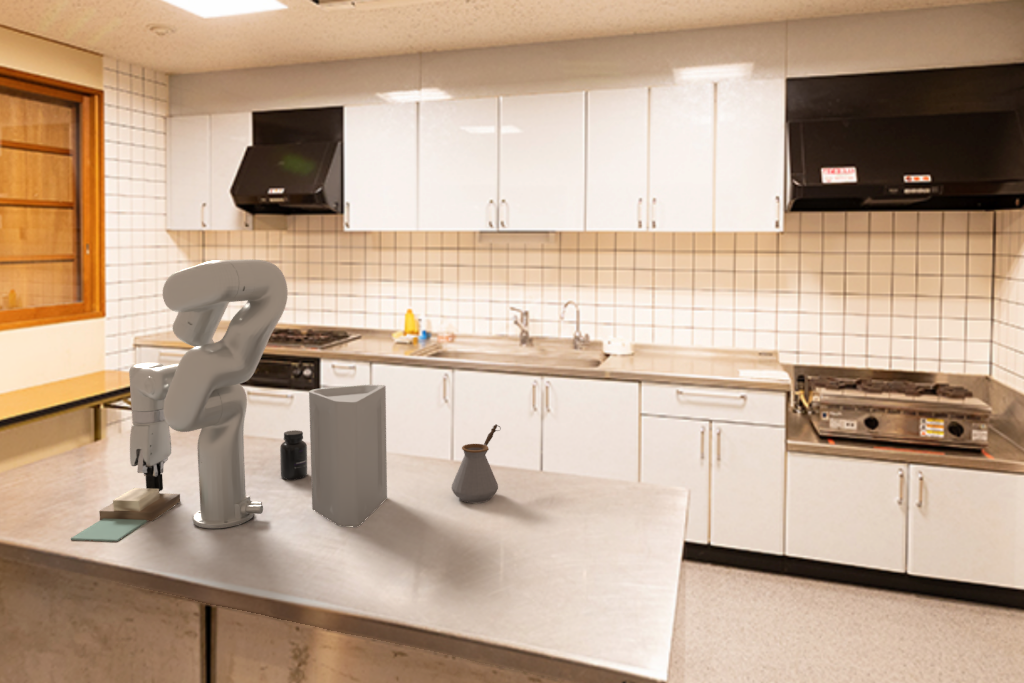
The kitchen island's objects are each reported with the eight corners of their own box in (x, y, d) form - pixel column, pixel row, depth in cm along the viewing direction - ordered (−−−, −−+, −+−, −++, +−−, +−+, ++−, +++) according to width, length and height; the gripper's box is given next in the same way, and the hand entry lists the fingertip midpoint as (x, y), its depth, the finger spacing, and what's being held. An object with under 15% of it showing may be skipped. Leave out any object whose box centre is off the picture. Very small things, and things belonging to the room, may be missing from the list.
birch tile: (159, 498, 166) (158, 488, 165) (139, 511, 158) (139, 501, 157) (134, 497, 166) (134, 488, 166) (113, 510, 158) (113, 500, 158)
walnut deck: (180, 501, 169) (179, 493, 169) (152, 521, 157) (151, 512, 157) (131, 500, 170) (131, 492, 170) (99, 519, 158) (99, 510, 158)
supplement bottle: (303, 480, 185) (301, 436, 184) (277, 480, 185) (275, 435, 184) (311, 472, 192) (309, 429, 190) (286, 471, 192) (284, 428, 191)
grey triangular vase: (331, 493, 176) (328, 382, 173) (388, 497, 174) (386, 385, 170) (295, 522, 158) (291, 399, 154) (358, 527, 155) (355, 402, 151)
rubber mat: (146, 521, 157) (146, 519, 157) (117, 541, 146) (117, 539, 146) (103, 520, 158) (103, 518, 158) (70, 539, 147) (70, 538, 147)
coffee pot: (488, 508, 167) (488, 447, 165) (443, 502, 171) (443, 442, 169) (517, 481, 187) (518, 425, 185) (476, 475, 191) (477, 421, 189)
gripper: (153, 408, 174) (157, 480, 176) (114, 423, 159) (120, 501, 162) (182, 408, 173) (186, 481, 176) (147, 424, 159) (151, 502, 161)
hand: (154, 490), depth 169 cm, fingers closed
